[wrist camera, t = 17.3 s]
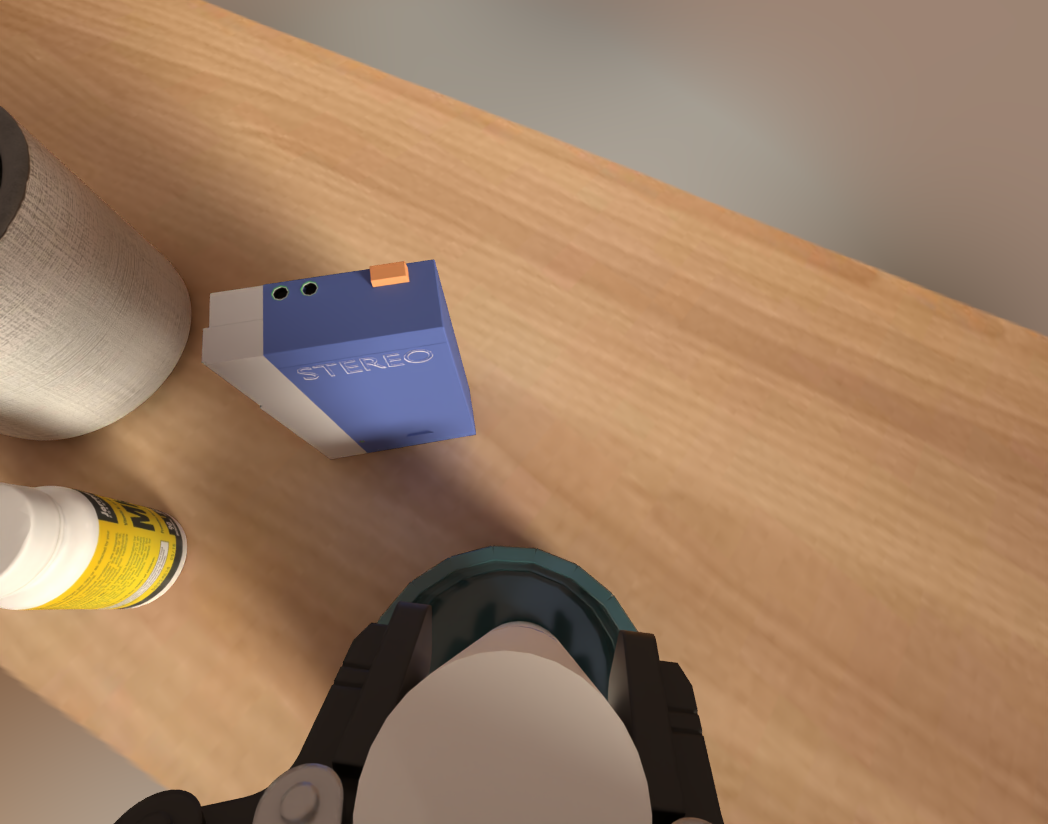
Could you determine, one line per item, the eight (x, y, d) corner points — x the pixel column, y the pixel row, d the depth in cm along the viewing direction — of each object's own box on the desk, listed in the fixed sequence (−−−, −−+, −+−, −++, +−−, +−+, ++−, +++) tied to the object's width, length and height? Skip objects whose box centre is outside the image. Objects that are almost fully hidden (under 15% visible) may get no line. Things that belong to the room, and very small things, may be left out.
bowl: (661, 608, 25) (692, 610, 20) (584, 880, 21) (600, 959, 17) (447, 522, 26) (430, 505, 22) (342, 763, 23) (293, 805, 18)
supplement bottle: (207, 525, 26) (72, 492, 18) (160, 621, 25) (-11, 631, 17) (124, 498, 27) (-44, 455, 19) (72, 591, 25) (-134, 587, 17)
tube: (475, 746, 21) (365, 1050, 7) (460, 631, 22) (342, 680, 8) (581, 724, 21) (690, 971, 7) (559, 612, 22) (611, 626, 8)
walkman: (469, 387, 29) (432, 250, 18) (476, 435, 28) (442, 322, 17) (326, 411, 28) (194, 286, 17) (328, 460, 28) (191, 361, 16)
